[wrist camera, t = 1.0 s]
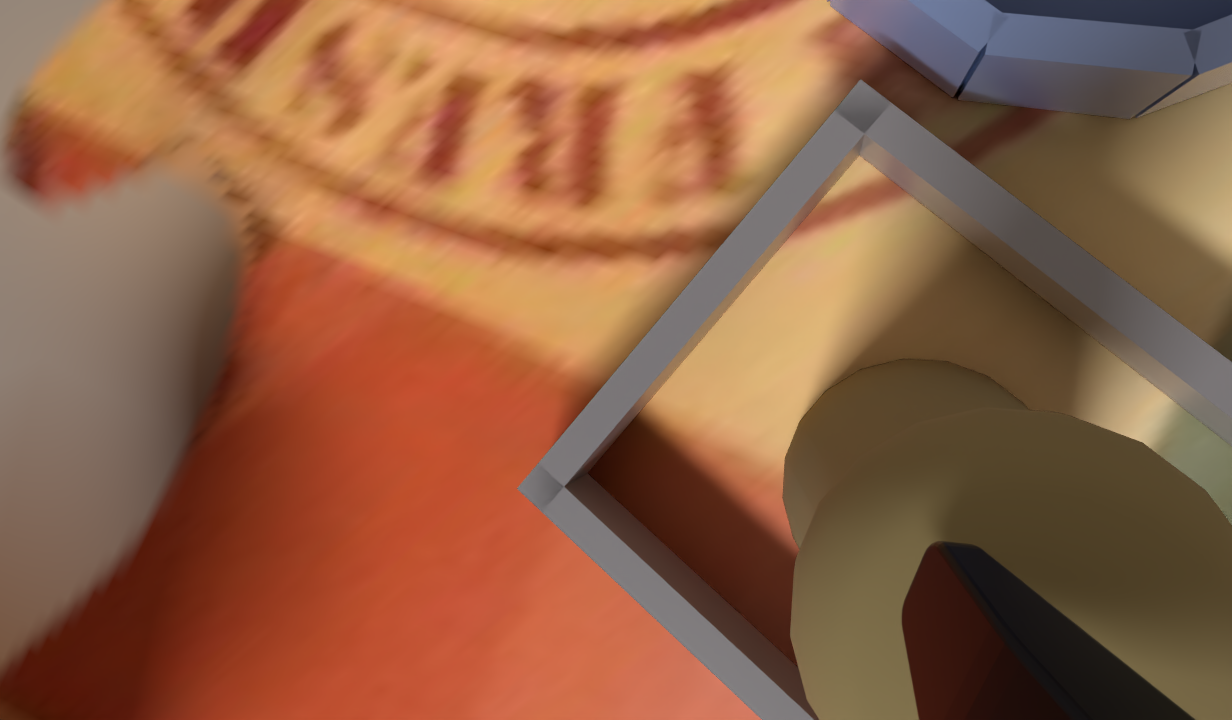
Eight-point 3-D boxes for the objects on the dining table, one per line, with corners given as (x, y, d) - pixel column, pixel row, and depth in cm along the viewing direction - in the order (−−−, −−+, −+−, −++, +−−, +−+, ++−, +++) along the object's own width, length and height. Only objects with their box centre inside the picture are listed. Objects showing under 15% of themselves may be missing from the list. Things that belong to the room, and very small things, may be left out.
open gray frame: (1379, 508, 17) (1452, 530, 15) (978, 879, 19) (996, 941, 17) (855, 106, 19) (860, 79, 17) (544, 475, 21) (517, 488, 19)
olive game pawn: (735, 528, 20) (645, 744, 9) (867, 309, 19) (936, 269, 8) (965, 673, 19) (1170, 1111, 8) (1117, 447, 18) (1565, 602, 7)
